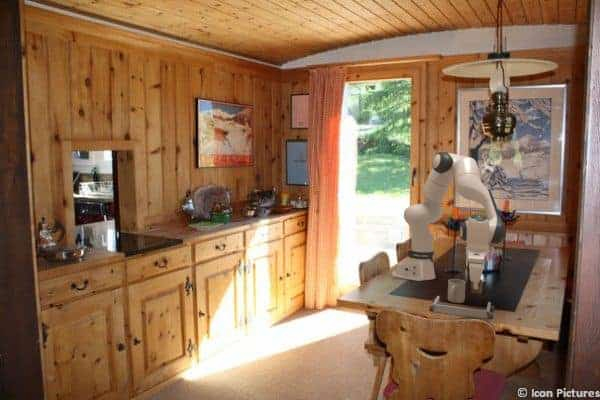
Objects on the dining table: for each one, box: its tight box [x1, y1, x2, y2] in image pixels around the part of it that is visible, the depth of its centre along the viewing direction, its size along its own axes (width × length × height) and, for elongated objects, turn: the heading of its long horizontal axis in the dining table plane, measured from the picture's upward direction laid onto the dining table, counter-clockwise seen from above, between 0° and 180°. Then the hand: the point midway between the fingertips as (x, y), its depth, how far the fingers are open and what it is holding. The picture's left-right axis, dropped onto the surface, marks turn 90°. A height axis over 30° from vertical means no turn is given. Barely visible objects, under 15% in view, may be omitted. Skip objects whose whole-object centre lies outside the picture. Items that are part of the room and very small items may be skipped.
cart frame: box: [428, 295, 495, 320], centre depth 210 cm, size 25×13×3 cm, turn 66°
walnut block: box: [470, 278, 483, 295], centre depth 207 cm, size 4×4×5 cm
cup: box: [447, 278, 466, 304], centre depth 221 cm, size 7×10×9 cm
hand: (476, 287), depth 207 cm, fingers closed on walnut block, 4 cm apart
